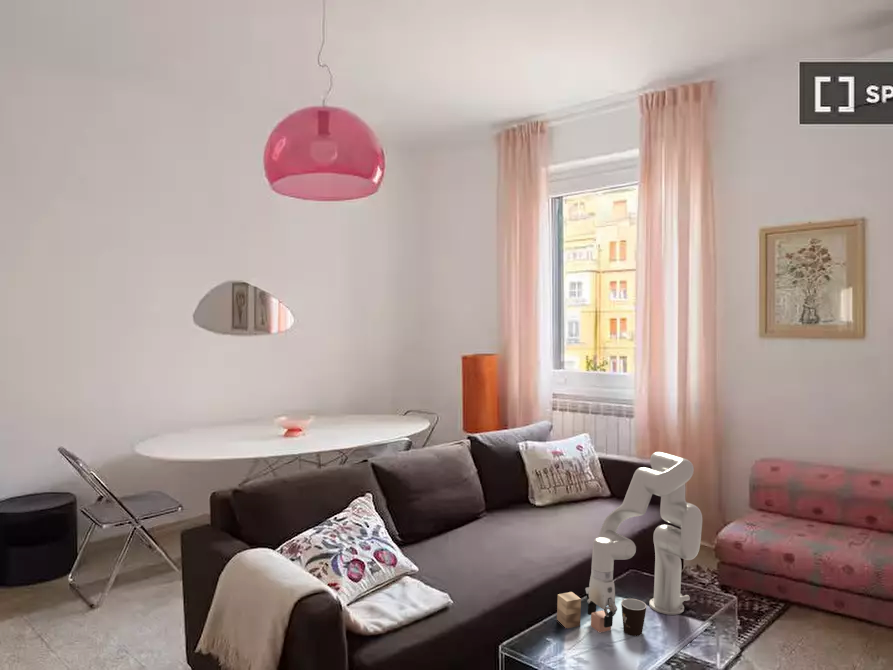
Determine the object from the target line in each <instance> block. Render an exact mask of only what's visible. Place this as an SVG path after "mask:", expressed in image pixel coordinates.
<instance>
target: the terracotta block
mask: <svg viewBox="0 0 893 670" xmlns="http://www.w3.org/2000/svg"><path fill="white" fill-rule="evenodd" d="M604 616H606V615H605V612H604V609H602V610H596V612H592V613H591V615H590V627H592V629H593V630H595V631H597V632H598V633H603V632H604V633H605V632H608V631H609V632H610V631H611V630H612V627H607V628H605V627H604Z"/></svg>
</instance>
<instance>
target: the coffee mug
mask: <svg viewBox="0 0 893 670" xmlns="http://www.w3.org/2000/svg"><path fill="white" fill-rule="evenodd" d="M620 605H621V614H622V615H621V616H622V624H623V625H622V627H623V628H622V629H623V632H624V633H625V634H626V635H628V636H630V637H641V635H643V631H644V626H645V625H644V624H645V618H646V612H647V608H648V607H647V604H646V602H644V601H642V600H639V599H636V598H624V599H622V600H621V601H620Z"/></svg>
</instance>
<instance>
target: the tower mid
mask: <svg viewBox="0 0 893 670" xmlns="http://www.w3.org/2000/svg"><path fill="white" fill-rule="evenodd" d="M556 604H557V605H556V606H557V608H558V609H559V610H561V611H562V612H563V613H564V614H566V615H570V614H575V613H580V612H581V611H582V609H581V608H582V598H580V597H579V596H578V595H577V594H575V593H574V592H573V591H569V592H563V593H559V594H557V603H556ZM557 608H556V609H557Z"/></svg>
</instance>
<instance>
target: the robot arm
mask: <svg viewBox="0 0 893 670" xmlns="http://www.w3.org/2000/svg"><path fill="white" fill-rule="evenodd" d="M649 459H650V460H649V462H650V463H649V464H650V467H651V468H649V467H645V466H643V467H638V468H637V469H636V470H635V471H634V473H633V476H632V478H631V481H630V484H629V486H628V489H627V491H626V494H625V495H624V496H625V497H624V499H623V501H622V503H621V505H619V506H618V507H617V508H615V509H614V510H613V511H612V512H610V513H609V514H608V515H607V516H606V518H605V519H604V521H603V523H602V526H601V528H600V531H599V535H598V537H595V538H594V539H593V541H592V550H591V551H592V554H591V555H592V556H591V573H590V577H589V578H590V579H589V584H588V587H585V593H586V599H587V600H586V602H587V603H588V604H587V615H588V616H591V613H592V612H597V606H598V607H599V608H600V609H602V610H603V611H604V612H605V615H606V616H604V627H605V628H607V627H611V628H612V627H613V622H614V621H613V620H614V617H615V615H616V613H617V611H618V607H617V605H616V587H615V580H614V563H615V562H614V561H615V560H630V559H632V558H633V557H634V556H635V555H636V551H637V546H636V544H635V542H634V541H633V540H632V539H630V538H628V537H626V536H625V535H624V536H623V535H622V534H619V533H617V531H618V529H619V526H620V525H621V524H622V523H623V522H624V521H626V520H629V519H630V518H635V517H640V516H644V515H645V514H646V513H647V510H648V507H649V504H650V502H651V499H652V496H653V495H655V496H658V497H660V507H659V512H660V513H659V515H660V518H661V519H662V520H663V521H664V522H667V523H669V524H672V525H669V524H661V525H660V524H659V525H658V526H657V527H655V530H654V531H653V536H652V537H653V539H652V540H653V541H652V542H653V544H654V553H655V554H654V556H655V557H654V558H655V559H654V560H655V561H654V584H653V585H654V586H653V598H650V599H649V602H648V603H649V604H648V605H649V606H650V608H651V609H653V610H654V611H655V612H657V613H660V614H664V615H669V616H670V615H671V616H674V615H676V616H677V615H681V614H682V613H683V612H684V611H685V606H684V604H683V603H684V601H690V598H691V597H690V596H689V595H688V594H685V595H683V594H682V593H681V585H682V584H681V583H682V560H681V559H683V560H686V561H692V560H694V559H695V558H696V557H697V556H698V554H699V551H700V548H701V547H700V546H701V541H702V540H701V539H702V529H703V514H702V511H701V510H700V508H699V507H698V506H697V505H695V504H693V503H690V502H687V500H686V483H687V482H689V481H690V480H691V478H692V476H693V475H694V472H695V471H694V469H695V468H694V465H693V462H691V461H690V460H689V459H687V458H685V457H681V456H678V455H674V454H671V453H667V452H662V451H655V452H653V453H652V454H651V456H650V458H649ZM673 525H674V526H673ZM678 527H679V528H678Z"/></svg>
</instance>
